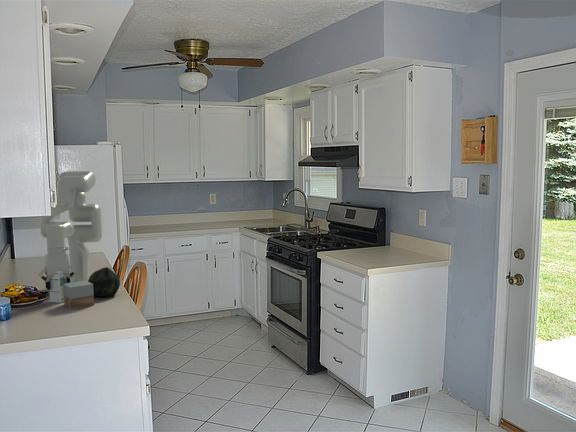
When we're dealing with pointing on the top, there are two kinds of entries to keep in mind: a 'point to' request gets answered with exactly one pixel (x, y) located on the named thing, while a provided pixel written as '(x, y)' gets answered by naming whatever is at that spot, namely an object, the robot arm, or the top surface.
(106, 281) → the squash
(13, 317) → the top surface
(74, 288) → the top block
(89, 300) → the bottom block
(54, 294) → the syrup box
